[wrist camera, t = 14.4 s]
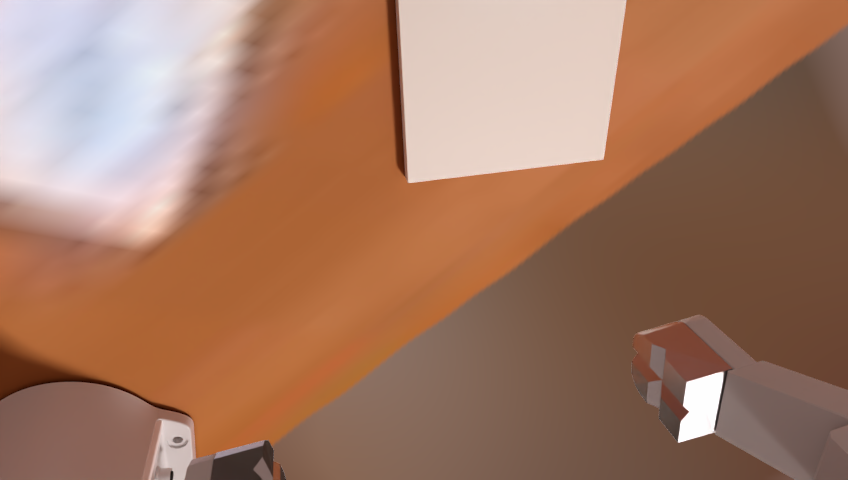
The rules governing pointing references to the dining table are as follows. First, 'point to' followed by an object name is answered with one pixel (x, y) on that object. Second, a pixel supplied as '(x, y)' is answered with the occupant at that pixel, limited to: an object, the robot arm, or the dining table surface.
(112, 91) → the dining table surface
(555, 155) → the wall panel
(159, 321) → the dining table surface
